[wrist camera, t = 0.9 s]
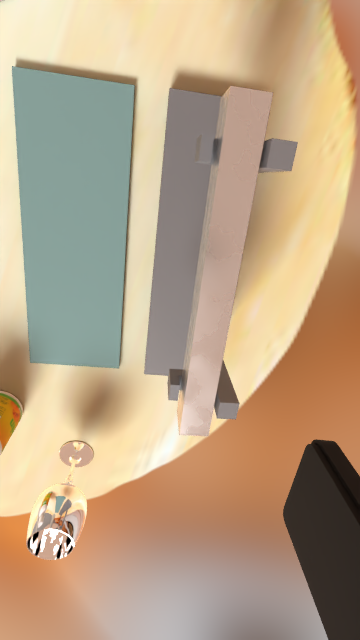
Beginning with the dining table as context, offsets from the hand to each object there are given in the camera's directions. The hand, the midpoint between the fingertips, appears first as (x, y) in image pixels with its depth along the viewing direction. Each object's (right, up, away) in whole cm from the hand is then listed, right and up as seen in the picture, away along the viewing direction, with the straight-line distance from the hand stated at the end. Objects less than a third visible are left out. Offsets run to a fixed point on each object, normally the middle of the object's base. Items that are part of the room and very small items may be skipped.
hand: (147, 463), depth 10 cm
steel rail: (+3, +7, +16) cm, 18 cm away
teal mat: (-10, +12, +24) cm, 29 cm away
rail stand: (+2, +11, +25) cm, 28 cm away
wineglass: (-13, -14, +35) cm, 40 cm away
